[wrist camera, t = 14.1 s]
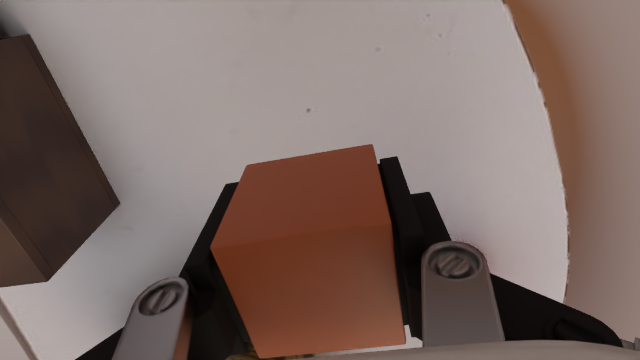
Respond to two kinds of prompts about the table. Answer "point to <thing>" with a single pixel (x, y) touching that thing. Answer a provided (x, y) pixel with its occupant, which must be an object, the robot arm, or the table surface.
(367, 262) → the block
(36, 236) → the cabinet
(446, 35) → the table surface
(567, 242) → the table surface
